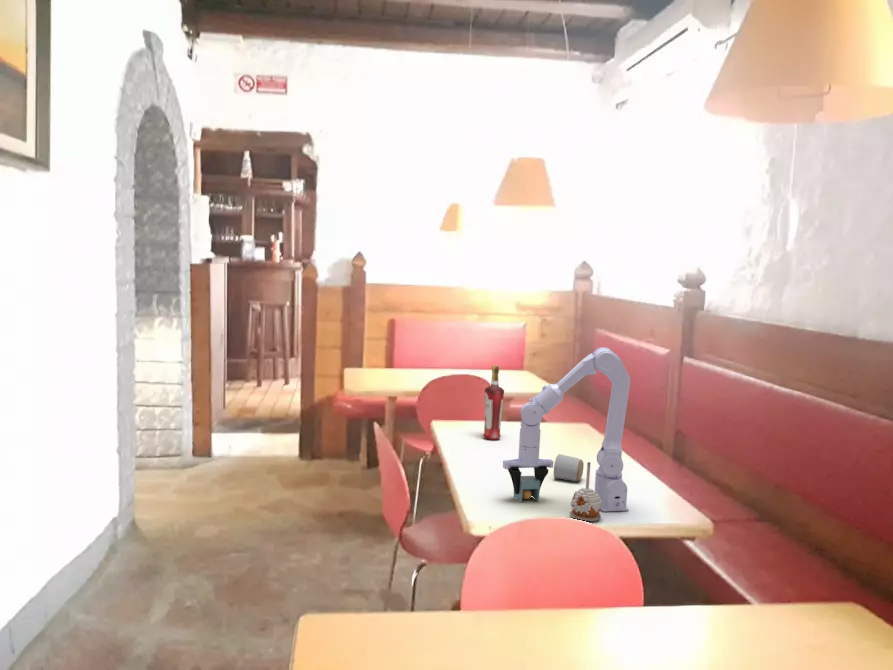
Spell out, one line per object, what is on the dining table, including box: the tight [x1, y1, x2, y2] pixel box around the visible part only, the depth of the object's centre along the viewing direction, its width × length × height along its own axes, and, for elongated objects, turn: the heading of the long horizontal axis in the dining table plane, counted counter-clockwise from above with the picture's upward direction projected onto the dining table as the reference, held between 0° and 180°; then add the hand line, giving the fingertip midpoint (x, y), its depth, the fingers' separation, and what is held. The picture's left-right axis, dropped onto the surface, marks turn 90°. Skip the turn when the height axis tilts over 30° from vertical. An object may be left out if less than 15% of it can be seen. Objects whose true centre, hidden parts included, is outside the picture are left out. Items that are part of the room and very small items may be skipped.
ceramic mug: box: [553, 453, 584, 482], centre depth 236 cm, size 11×8×8 cm
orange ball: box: [522, 489, 532, 500], centre depth 212 cm, size 3×3×3 cm
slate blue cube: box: [513, 475, 541, 503], centre depth 212 cm, size 6×6×6 cm
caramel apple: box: [569, 461, 602, 522], centre depth 198 cm, size 8×8×15 cm
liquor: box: [482, 365, 505, 441], centre depth 285 cm, size 7×7×28 cm
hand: (526, 492), depth 212 cm, fingers closed on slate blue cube, 5 cm apart
